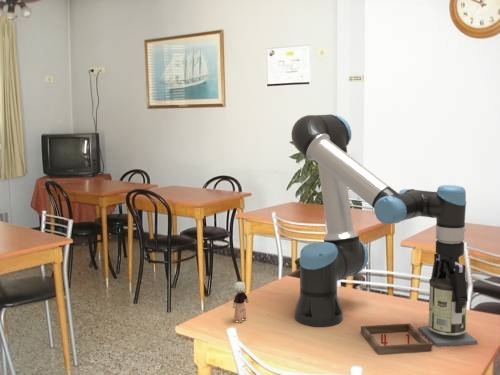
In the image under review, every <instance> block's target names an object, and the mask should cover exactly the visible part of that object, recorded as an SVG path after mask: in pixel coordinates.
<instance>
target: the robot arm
mask: <svg viewBox="0 0 500 375" xmlns="http://www.w3.org/2000/svg"><path fill="white" fill-rule="evenodd" d="M292 126H293V127H292V130H291V140H292V143H293V145H294V147H295V148H296V150H297V151H298V152H299V153H300V154H301V155H303V156H304V157H305V158H306V159H308V161H315V162H316V163H317V166H318V174H319V182H320V189H321V195H322V196H321V197H322V201H323V209H324V218H325V225H326V231H327V233H326V235H325V236H324V238H323V241H318V242H312V243H308V244H306V245H304V246H303V247H302V248H301V250H300V254H299V261H298V262H299V288H300V289H299V297H298V300H297V302H296V305H295V308H294V319H295V320H296V321H297V322H299V323H301V324H302V325H303V324H304V325H306V326H312V327H330V326H335V325H337V324H338V325H339V324H340V323H341V322H342V321H343V312H344V311H343V309H342V305H341V303H340V300H339V296H338V281H341V280H343V279H346V278H348V277H354V276H355V275H357V274H358V273H360V272H362V271H363V270H364V269H365V267H366V266H367V264H368V260H369V252H368V247H367V246H366V245H365V244H364V242H363V241H361V240H360V236H359V233H358V232H356V230H354V227H353V226H354V225H353V218H352V217H353V216H352V212H351V204H350V197H349V196H350V195H349V190H350V191H352V192H353V193H355V194H356V195H357V196H358V197H359V198H361V199H362V200H363V201H364V202H366V203H367V204H368V205H369V206H370V207H372V208H373V210H374V211H373V212H374V215H375V217H376V219H377V220H378V221H379V222H381V223H382V224H384V225H385V224H386V225H391V224H398V223H400V222H403V221H405V220H407V221H408V220H409V219H410V220H411V219H414V218H418V217H424V218H432V219H435V220H436V224H435V239H436V241H435V253H434V255H433V257H434V258H433V260H434V261H433V265H432V273H431V277H430V279H431V278H434V277H437V278H446V277H448V278H449V280H450V284H451V286H452V287H453V290H452V294H453V300H451V301H452V311H451V323H452V324H461V323H462V303H463V302H465V301H467V302H468V301H469V300H468V299H469V298H468V287H467V288H466V282H467V279H466V265H465V264H460V259H459V258H460V257H462V256H463V255H464V253H465V242H464V240H465V232H466V229H465V228H466V227H465V226H466V225H465V224H466V210H467V209H466V206H467V199H466V198H467V197H466V195H467V194H466V193H467V192H466V188H464V186H460V185H452V184H451V185H445V184H444V185H439V186H438V187H437V190H436V191H429V190H422V189H421V190H419V189H415V188H411V189H410V188H409V189H407V188H406V189H405V188H403V189H401V190H399V192H397V191H396V190H394V188H392V187H391V186H389V185H388V184H387V183H386V182H384V180H382V179H380V178H379V177H377V175H376V174H374V173H373V172H371V171H370V170H369V169H367V168H366V167H365V166H363V164H361V163H360V162H358V161H357V160H356V159H354V158H353V157H352V156H350V155H349V154H348V147H347V146H348V145H349V144H350V141H351V140H352V129H351V126H350V124H349V123H348V121H347V120H346V119H345V118H343V117H342V116H340V115H335V114H315V115H314V114H308V115H304V116H302V117H300V118H299V119H297V120H296V122H294V125H292ZM348 189H349V190H348Z"/></svg>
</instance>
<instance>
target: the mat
mask: <svg viewBox="0 0 500 375" xmlns="http://www.w3.org/2000/svg"><path fill="white" fill-rule="evenodd" d="M417 331H418V332H419V333H420V334H422V335H423V336H424V337H425V338H426V339H427V340H428V341H429V342H430V343H431V344H432V345H434V346H435V347H436V348H438V347H451V346H452V347H454V346H455V345H456V346H466V345H465V344H471V345H478V340H477V339H476V338H475V337H473V336H472V335H471V334H469V333H468V332H467V331H466V332H465V333H464V334H461V335H443V334H439V333H435V332H433V331H431V330H430V329H429V327H428V325H425V326H418V327H417Z"/></svg>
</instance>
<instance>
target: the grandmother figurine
mask: <svg viewBox="0 0 500 375" xmlns="http://www.w3.org/2000/svg"><path fill="white" fill-rule="evenodd" d="M245 289H246V285H245V283H244V282H242V281H238V282H236V283H234V290H235V292H236V293H237V294H235V296H234V299H233V302H232V303H233V304H232V309H234V316H233V317H234V319H235V320H234V322H235V321H238V322H243V323H244V321H243V320H242V319H244V320H246V319H247V320H248V318H247V310H246V305H245V303H248V304H249V298H248V296H247V294H246V293H245V292H244V291H245ZM247 320H246V321H247Z"/></svg>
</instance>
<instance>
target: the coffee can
mask: <svg viewBox="0 0 500 375" xmlns="http://www.w3.org/2000/svg"><path fill="white" fill-rule="evenodd" d="M428 281H429V294H428V295H429V297H428V298H429V301H428V305H429V306H428V325H427V326H428V327H429V329H430V330H431V331H433V332H435V333H439V334H443V335H461V334H464V333H465V332H467V330H466V329H467V327H466V326H467V325H466V324H467V303H468V301H465V302H463V303H462V323H461V324H452V323H451V311H452V301H451V300H453V294H452V290H453V287H452V286H451V284H450V280H449V278H448V277H446V278H437V277H434V278H431V277H430V278H429V280H428ZM468 284H469V282H468V281H466V288H467V289H468Z"/></svg>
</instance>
